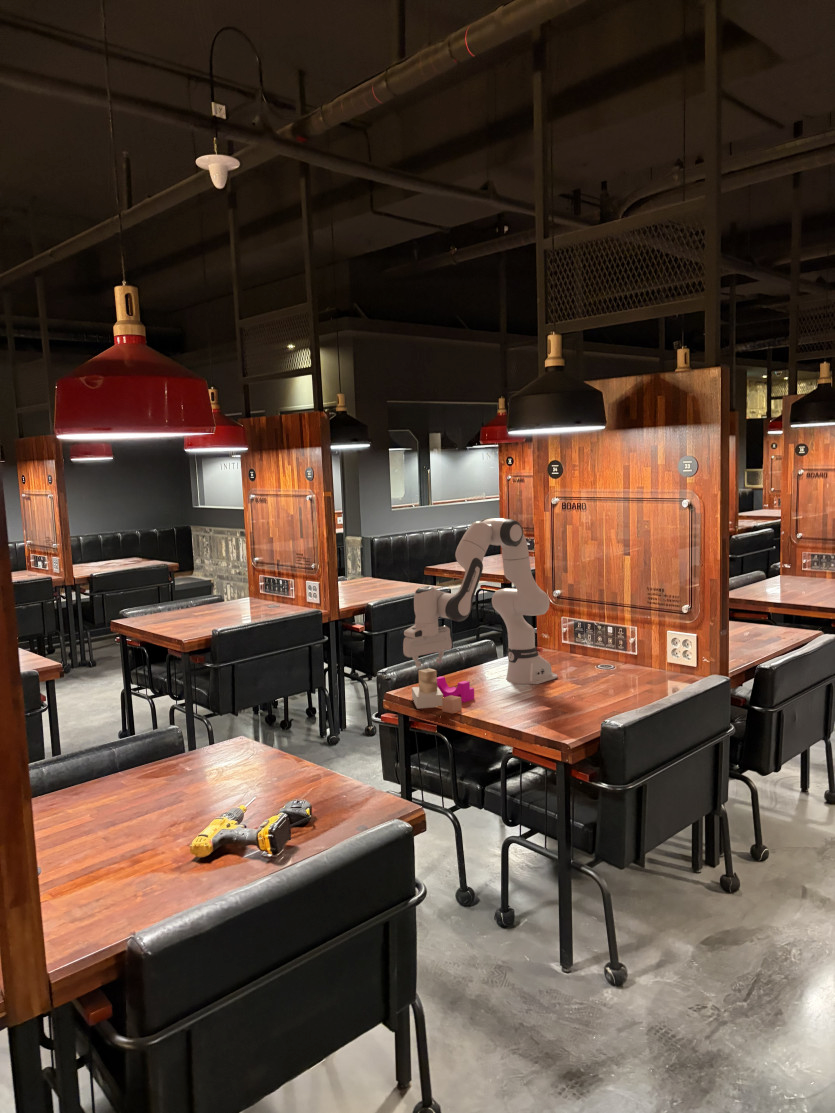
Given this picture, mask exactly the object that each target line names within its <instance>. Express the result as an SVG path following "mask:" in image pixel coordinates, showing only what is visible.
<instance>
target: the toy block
mask: <svg viewBox="0 0 835 1113" xmlns="http://www.w3.org/2000/svg"><path fill="white" fill-rule="evenodd" d="M470 683H471V682H470V681H467V680H463V681H459V682H457V686H456V687H455V686H452V687H450V686H449V685H448V683H447V681H446V677H445V676H438V677H437V686H438V688H439V689H440V691H441V692H442V694H443V697H447V696H450V695H452V696H457V697H461V703H466V702H470V701H472V700H475V688H474V687H471V685H470Z"/></svg>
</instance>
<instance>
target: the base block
mask: <svg viewBox="0 0 835 1113" xmlns="http://www.w3.org/2000/svg"><path fill="white" fill-rule="evenodd" d="M412 698H413V699H412ZM442 698H443V694H442V692H441V691H440V689H439V688H438V686H437V691H435V692H430V693H424V692H421V691H419V686H415V687H414V686H413V687H411V699H412V701H413V700H414V701H413V703H414V705H415V707H416V709H429V708H437V707H436V706H442Z"/></svg>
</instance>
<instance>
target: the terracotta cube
mask: <svg viewBox="0 0 835 1113" xmlns="http://www.w3.org/2000/svg"><path fill="white" fill-rule="evenodd" d="M441 708H442V712H444V713H449V714H455V713H458V712H460V711H461V712H462V711H463V710H462V709H463V707H462V702H461V697H457V696H452V695H450V696H447V697H444V698H442V707H441Z"/></svg>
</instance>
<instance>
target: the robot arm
mask: <svg viewBox="0 0 835 1113" xmlns="http://www.w3.org/2000/svg"><path fill="white" fill-rule="evenodd" d="M490 545H492V546H500V547H501V557H502V567H503V575H504V577H505V579H506V580H508V581H509V582H511V583H512V584H513V585H514V588H512V587H505V588H501V589H497V590H496V591H495V592H494V593H493V595H492V597H491V605H492V607H493V609H494V610H495V611H496V613H498V615H500V617H501V618H502V620H503V622H504V624H505V626H506V631H507V638H508V639H507V640H508V641H507V642H508V647H507V660H508V664H507V672H506V678H505V681H506V680H507V682H508V683H510V682H511V683H510V684H517V685H540V684H542V683H545V682H548V681H552V680H555V679H557V678H558V674H556V673H554V672H553V671H552V670H553V669H552V666H551V664H550V662H549V661H548V660H546V659H545V658H543V657H542V656H541V655H540V654H539V653H542V652H543V651H544V648H543V647H540V646H536V645H535V644H536V643H535V642H536V639H535V638H536V635H535V629H534V627H533V626H532V625H531V624H529V623H528V622H527V621H526V619H525V618H524V616H529V617H530V616H531V617H532V616H533V617H534V616H542V615H545V614H546V613H547V611H549V608H550V597H549V595H548V593H546V592H545V591H544V590H543V589H541V587H540V586H539V585H538V584H537V582H536V580H535V579H534V576H533V573H532V568H531V561H530V553H529V547H528V542H527V539H526V536H525V534H524V531H523V527H522V525H521V523H520V522H519V521H517V520H515V519H511V518H503V517H497V518H494V517H493V518H490V517H489V518H488V517H487V518H482V519H480V520H477V521H474V522H472V523H471V524H470V526H469V527H468V528H467V530H466V531H465V532H464V534H463V536H462V538H461V539H460V541H459V543H458V545H457V547H456V550H455V552H454V553H455V555H454V557H455V560H456V562H457V564H458V565H459V566H461V568H463V569H464V576H463V579H462V581H461V584H460V587H459V589H458V591H457V592H456V593H450V592H445V591H442V590H439V589H437V588H435V587H434V586H433V585H425V586H421V587H418V588H417V589H416V590H415V592H414V594H413V610H414V615H415V619H414V624H413V625H412V626H410V627H408V628H407V629H405V630H404V631H403V635H404V638H403V642H402V647H403V648H402V650H403V655H404V656H405V657H407V658H412V660H413V662H414V663H415V667H416V668H421V667H422V662H421V661H420V660H419V656H425V655H429V654H435V653H438V656H437V657H436V658H435V661H436V663H438V664H440V663H442V662H443V656H444V654H445V651H448V650H451V649H452V647H453V644H452V637H451V628H450V627H449V626H447V625H443V626H439V618H443V619H449V620H452V621H454V622H457V623H459V622H464V621H465V620H466V619H467V618H468V617H469V615H471V611H472V608H473V601H474V597H475V594H476V591H477V588H478V586H479V583H480V581H481V580H480V579H481V577H482V575H483V570H484V563H483V560H484V558H485V556H486V554H487V551H488V548H489V546H490Z"/></svg>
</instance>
